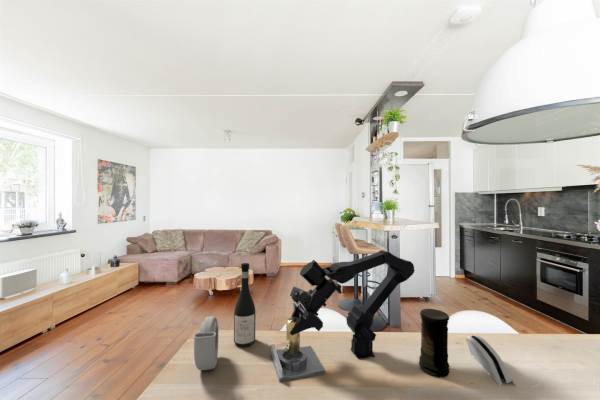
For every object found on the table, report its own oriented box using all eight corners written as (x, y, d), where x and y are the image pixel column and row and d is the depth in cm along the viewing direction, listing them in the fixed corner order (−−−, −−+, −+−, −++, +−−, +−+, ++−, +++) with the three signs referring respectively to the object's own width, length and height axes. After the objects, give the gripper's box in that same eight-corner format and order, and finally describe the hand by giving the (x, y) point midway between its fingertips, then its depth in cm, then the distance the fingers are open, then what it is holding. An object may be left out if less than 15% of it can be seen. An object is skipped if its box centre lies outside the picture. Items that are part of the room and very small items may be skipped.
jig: (310, 348, 100) (310, 339, 100) (324, 373, 85) (324, 362, 85) (271, 354, 96) (271, 344, 96) (279, 381, 82) (279, 370, 82)
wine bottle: (255, 347, 101) (255, 265, 101) (233, 348, 100) (233, 266, 100) (255, 336, 109) (255, 260, 109) (234, 337, 108) (235, 261, 108)
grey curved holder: (202, 352, 97) (203, 310, 97) (221, 351, 98) (222, 309, 98) (192, 384, 80) (192, 333, 80) (215, 382, 81) (215, 331, 81)
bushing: (294, 345, 94) (294, 315, 94) (302, 350, 90) (302, 320, 90) (283, 349, 91) (283, 319, 91) (291, 355, 87) (291, 323, 87)
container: (424, 357, 95) (425, 305, 95) (453, 369, 88) (453, 313, 88) (414, 368, 88) (414, 313, 88) (444, 382, 82) (444, 322, 82)
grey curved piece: (517, 386, 80) (504, 353, 81) (500, 390, 81) (488, 357, 81) (485, 354, 97) (475, 327, 97) (471, 357, 97) (462, 330, 98)
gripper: (297, 271, 101) (267, 304, 98) (312, 287, 83) (277, 328, 80) (317, 291, 103) (289, 324, 100) (337, 310, 85) (303, 351, 82)
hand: (289, 330), depth 90 cm, fingers closed on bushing, 4 cm apart
